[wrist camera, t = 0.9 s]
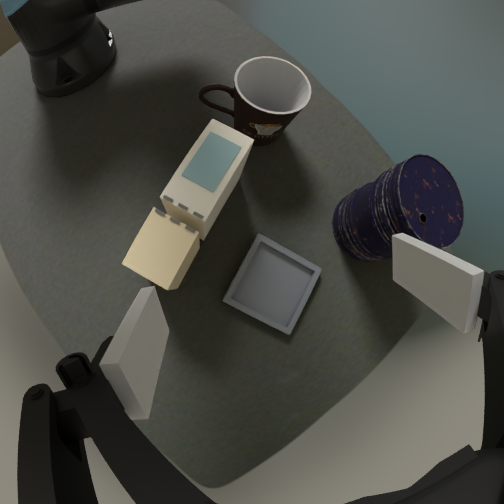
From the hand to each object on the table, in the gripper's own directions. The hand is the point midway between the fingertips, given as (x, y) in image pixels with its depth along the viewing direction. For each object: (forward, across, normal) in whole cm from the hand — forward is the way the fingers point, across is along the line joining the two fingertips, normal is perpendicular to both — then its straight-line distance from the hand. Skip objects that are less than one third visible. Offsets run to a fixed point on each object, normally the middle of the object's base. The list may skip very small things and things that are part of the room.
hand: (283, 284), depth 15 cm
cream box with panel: (+23, -4, +3) cm, 23 cm away
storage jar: (+23, +16, -5) cm, 28 cm away
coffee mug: (+28, +3, +12) cm, 30 cm away
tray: (+20, +1, -8) cm, 21 cm away
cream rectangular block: (+20, -10, -3) cm, 22 cm away
